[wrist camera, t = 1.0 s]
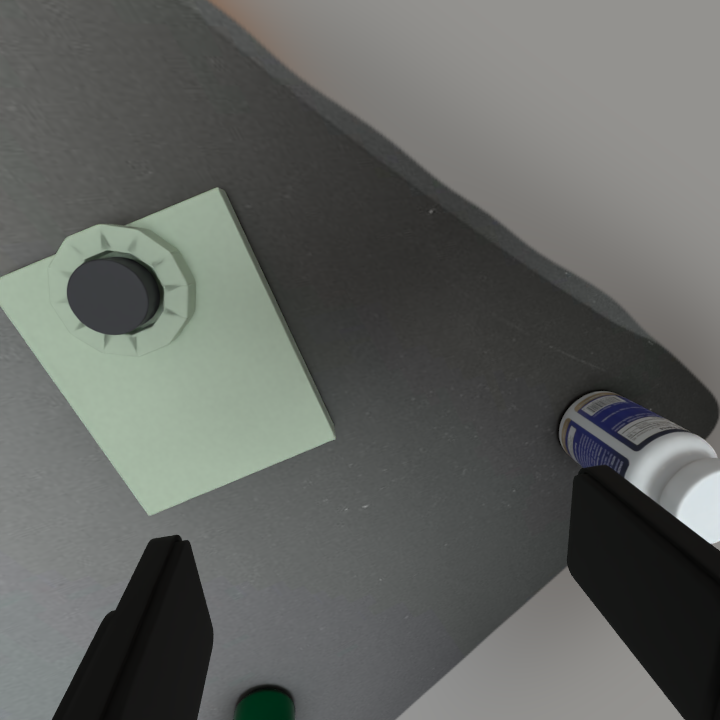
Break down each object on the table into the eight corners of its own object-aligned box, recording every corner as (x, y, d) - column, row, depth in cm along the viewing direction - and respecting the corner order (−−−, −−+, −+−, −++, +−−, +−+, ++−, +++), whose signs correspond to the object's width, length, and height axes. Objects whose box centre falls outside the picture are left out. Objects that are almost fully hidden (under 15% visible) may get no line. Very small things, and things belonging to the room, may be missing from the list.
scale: (5, 275, 23) (-45, 283, 20) (222, 185, 23) (208, 178, 20) (158, 498, 28) (139, 534, 25) (334, 425, 28) (338, 451, 25)
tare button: (69, 272, 21) (49, 277, 19) (136, 245, 21) (121, 246, 19) (110, 337, 22) (94, 346, 20) (173, 311, 22) (163, 318, 20)
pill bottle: (599, 467, 32) (721, 565, 23) (541, 443, 31) (645, 538, 21) (642, 404, 31) (789, 481, 22) (583, 376, 30) (712, 446, 20)
